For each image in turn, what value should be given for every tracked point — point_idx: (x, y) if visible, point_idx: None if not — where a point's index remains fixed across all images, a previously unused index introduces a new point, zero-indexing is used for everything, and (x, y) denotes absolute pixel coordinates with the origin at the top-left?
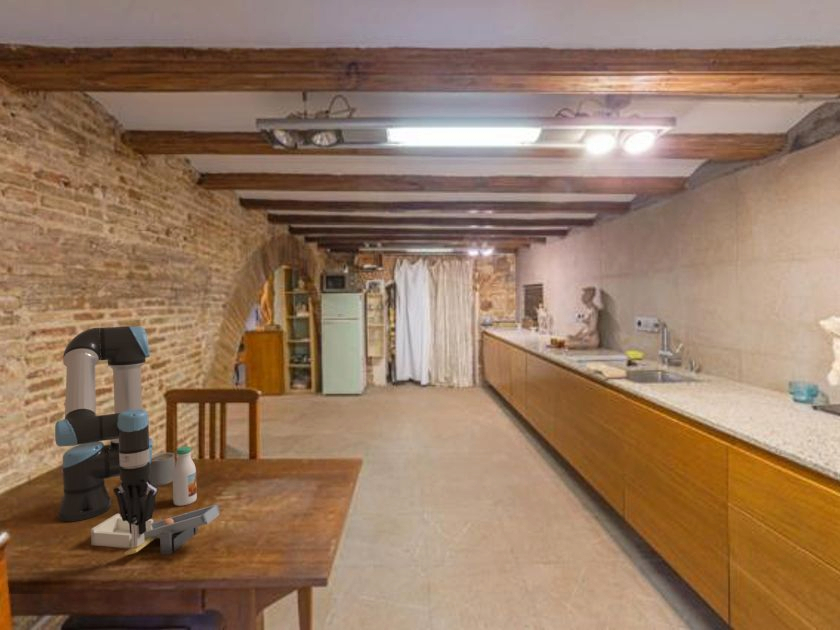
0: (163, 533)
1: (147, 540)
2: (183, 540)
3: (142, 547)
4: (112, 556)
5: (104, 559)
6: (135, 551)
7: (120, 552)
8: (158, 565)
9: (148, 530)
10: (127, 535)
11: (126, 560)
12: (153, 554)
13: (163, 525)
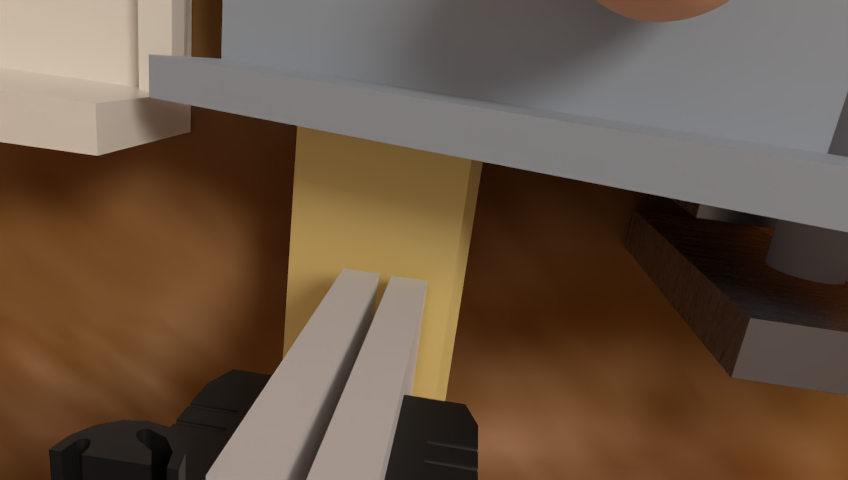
0: (798, 380)
1: (434, 221)
2: None
3: (452, 346)
4: (130, 278)
5: (96, 327)
6: None
7: (152, 207)
8: (701, 432)
9: (356, 104)
10: (73, 151)
11: None
12: (542, 247)
13: (608, 6)
